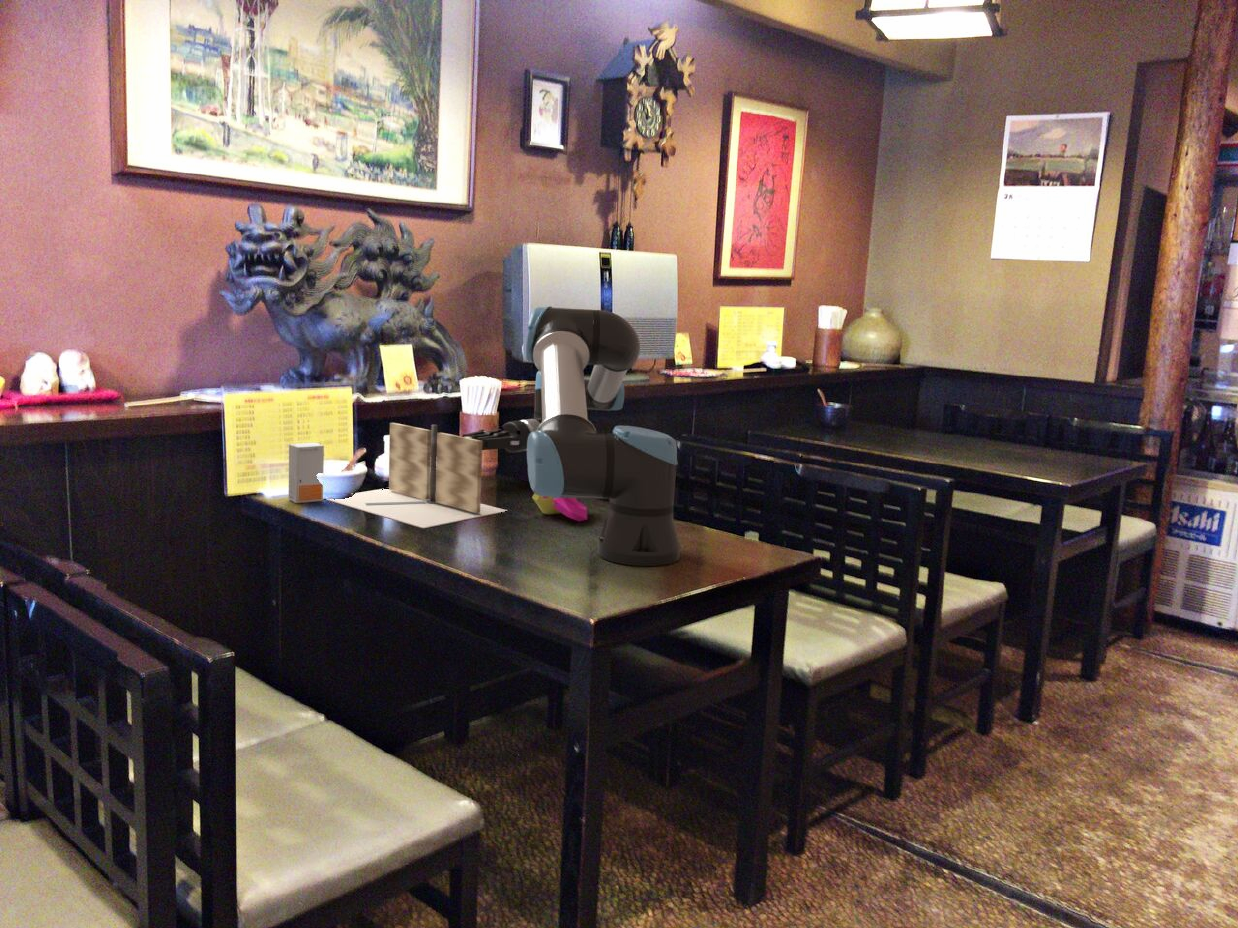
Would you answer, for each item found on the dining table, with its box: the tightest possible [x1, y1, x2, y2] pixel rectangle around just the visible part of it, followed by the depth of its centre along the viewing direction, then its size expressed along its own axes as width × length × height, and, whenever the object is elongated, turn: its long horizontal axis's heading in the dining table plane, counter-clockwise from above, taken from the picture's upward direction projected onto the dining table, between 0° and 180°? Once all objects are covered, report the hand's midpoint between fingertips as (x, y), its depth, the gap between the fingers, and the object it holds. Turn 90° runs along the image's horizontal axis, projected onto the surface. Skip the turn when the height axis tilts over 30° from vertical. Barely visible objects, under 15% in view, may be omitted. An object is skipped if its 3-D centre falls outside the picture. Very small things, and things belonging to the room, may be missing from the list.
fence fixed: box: [427, 424, 483, 513], centre depth 209 cm, size 15×3×17 cm, turn 52°
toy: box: [531, 492, 588, 522], centre depth 211 cm, size 10×18×10 cm, turn 35°
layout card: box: [325, 488, 508, 529], centre depth 212 cm, size 32×23×1 cm
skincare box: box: [288, 442, 325, 504], centre depth 210 cm, size 6×4×12 cm
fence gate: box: [388, 422, 432, 500], centre depth 218 cm, size 12×1×15 cm, turn 52°
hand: (448, 445), depth 225 cm, fingers closed
